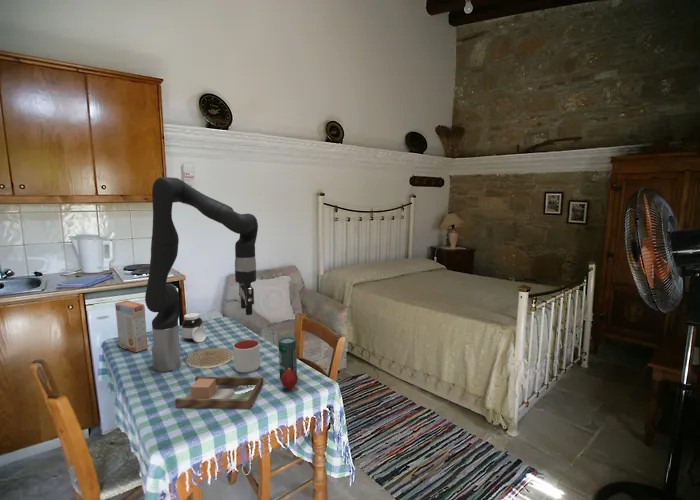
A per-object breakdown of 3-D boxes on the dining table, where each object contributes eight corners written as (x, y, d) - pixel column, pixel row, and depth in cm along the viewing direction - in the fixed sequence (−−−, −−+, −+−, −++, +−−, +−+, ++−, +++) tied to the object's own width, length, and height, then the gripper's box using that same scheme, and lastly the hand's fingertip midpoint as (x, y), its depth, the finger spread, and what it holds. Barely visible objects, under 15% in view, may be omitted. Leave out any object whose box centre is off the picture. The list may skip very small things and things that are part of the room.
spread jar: (191, 334, 190) (190, 311, 189) (213, 335, 189) (211, 312, 187) (177, 343, 179) (175, 319, 177) (200, 344, 177) (198, 320, 175)
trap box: (175, 408, 124) (175, 399, 124) (196, 384, 140) (196, 376, 140) (250, 409, 123) (250, 401, 123) (263, 385, 139) (263, 377, 139)
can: (282, 374, 147) (280, 337, 145) (297, 374, 147) (296, 337, 145) (278, 382, 141) (277, 343, 139) (295, 382, 141) (294, 343, 139)
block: (191, 399, 129) (190, 387, 128) (199, 390, 135) (198, 378, 134) (209, 399, 129) (208, 387, 128) (216, 390, 135) (215, 378, 134)
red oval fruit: (282, 385, 139) (281, 364, 138) (298, 384, 139) (297, 363, 138) (280, 393, 133) (280, 371, 132) (297, 392, 134) (296, 371, 133)
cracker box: (148, 349, 172) (145, 304, 169) (135, 353, 167) (131, 307, 164) (131, 342, 180) (128, 299, 177) (118, 347, 175) (114, 302, 172)
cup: (253, 375, 147) (252, 350, 146) (229, 372, 149) (228, 348, 148) (264, 363, 157) (263, 340, 155) (241, 361, 159) (240, 338, 157)
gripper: (231, 265, 145) (232, 307, 147) (239, 273, 133) (240, 318, 135) (251, 264, 148) (252, 305, 151) (260, 271, 136) (261, 315, 138)
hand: (246, 311), depth 143 cm, fingers open, 8 cm apart
